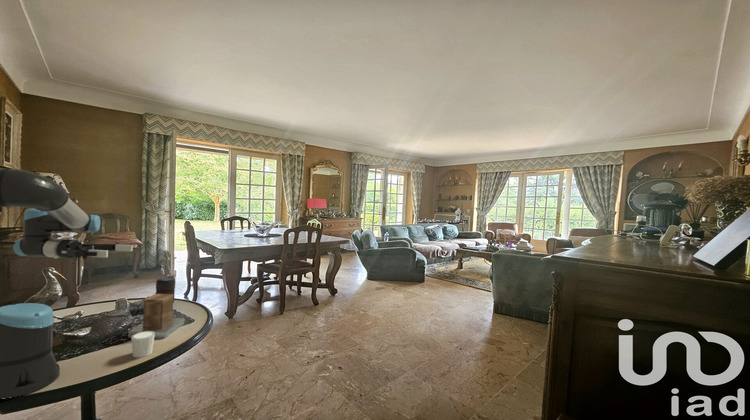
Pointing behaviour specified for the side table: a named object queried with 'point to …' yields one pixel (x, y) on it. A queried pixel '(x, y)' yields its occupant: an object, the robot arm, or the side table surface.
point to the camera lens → (165, 286)
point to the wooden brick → (158, 310)
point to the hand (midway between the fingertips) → (120, 251)
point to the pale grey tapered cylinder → (142, 343)
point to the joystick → (159, 331)
